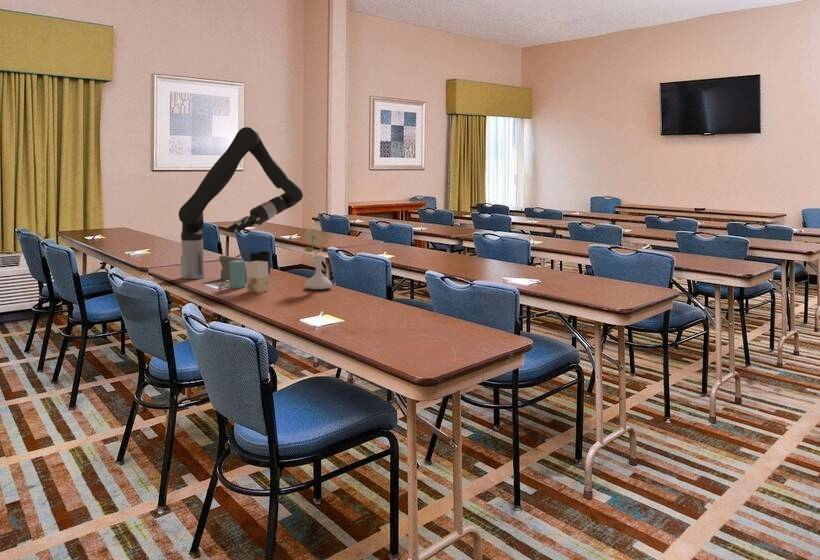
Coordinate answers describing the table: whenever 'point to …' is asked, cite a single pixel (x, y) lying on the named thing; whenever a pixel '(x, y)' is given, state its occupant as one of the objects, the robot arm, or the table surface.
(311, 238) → the flower in vase
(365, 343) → the table surface
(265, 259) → the pen holder
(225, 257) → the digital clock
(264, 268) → the cream cube
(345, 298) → the table surface
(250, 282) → the maple cube
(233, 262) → the teal post
